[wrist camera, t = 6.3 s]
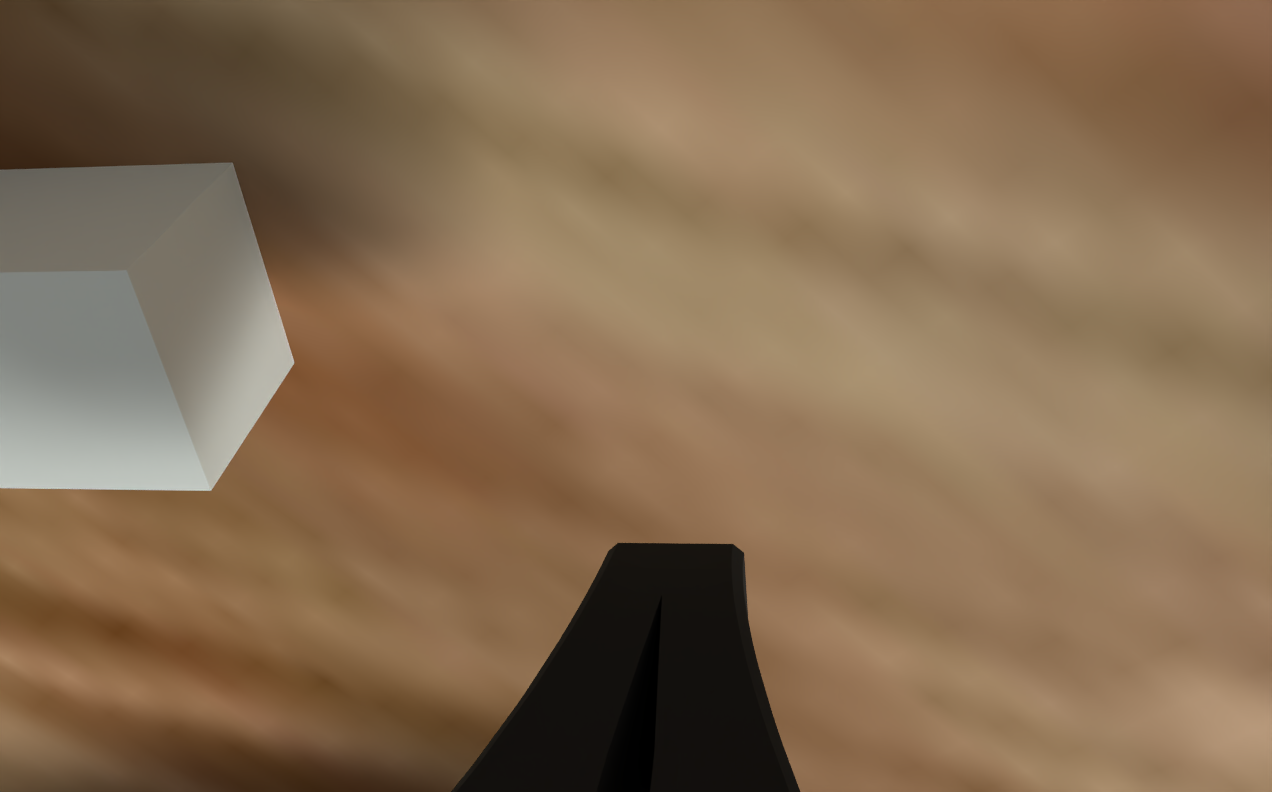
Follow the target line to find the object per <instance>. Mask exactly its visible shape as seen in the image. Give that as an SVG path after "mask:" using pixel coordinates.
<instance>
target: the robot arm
mask: <svg viewBox="0 0 1272 792" xmlns="http://www.w3.org/2000/svg"><path fill="white" fill-rule="evenodd" d="M451 792H800V789H799V787H798V784H797V782H796V779H795V776H794V774H793V771H792V768H791V766H790V763H789V760H788V758H787V755H786V752H785V749H784V747H783V744H782V741H781V738H780V735H779V732H778V729H777V726H776V723H775V720H774V717H773V714H772V711H771V708H770V704H769V701H768V697H767V694H766V690H765V687H764V684H763V680H762V677H761V673H760V670H759V667H758V663H757V659H756V655H755V651H754V646H753V642H752V637H751V632H750V627H749V622H748V610H747V594H746V578H745V562H744V553H743V552H742V551H741V550H740V549H738V548H737V547H736V546H735V545H733V544H668V543H617V544H616V545H615V546H614V547H613V548H612V549H610V550H609V551H608V553H607V555H606V557H605V559H604V561H603V564H602V566H601V568H600V570H599V571H598V573H597V575H596V577H595V579H594V581H593V583H592V585H591V587H590V588H589V590H588V592H587V594H586V596H585V598H584V599H583V601H582V603H581V605H580V606H579V608H578V610H577V612H576V613H575V615H574V617H573V618H572V620H571V622H570V623H569V625H568V627H567V628H566V630H565V632H564V633H563V635H562V637H561V638H560V640H559V642H558V643H557V645H556V646H555V648H554V649H553V651H552V652H551V654H550V656H549V657H548V659H547V660H546V662H545V663H544V665H543V666H542V668H541V669H540V671H539V672H538V674H537V676H536V677H535V679H534V680H533V682H532V683H531V685H530V686H529V688H528V689H527V691H526V692H525V694H524V695H523V697H522V698H521V700H520V701H519V703H518V704H517V705H516V707H515V708H514V710H513V711H512V712H511V714H510V715H509V716H508V718H507V719H506V721H505V722H504V723H503V725H502V726H501V727H500V729H499V730H498V731H497V733H496V734H495V735H494V737H493V738H492V740H491V741H490V742H489V744H488V745H487V746H486V748H485V749H484V750H483V752H482V753H481V755H480V756H479V757H478V759H477V760H476V761H475V763H474V764H473V765H472V766H471V768H470V769H469V770H468V772H467V773H466V774H465V775H464V776H463V778H462V779H461V780H460V781H459V783H458V784H457V785H456V786H455V788H454V789H453V790H452V791H451Z"/></svg>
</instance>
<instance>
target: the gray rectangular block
mask: <svg viewBox="0 0 1272 792" xmlns="http://www.w3.org/2000/svg"><path fill="white" fill-rule="evenodd" d="M293 364H294V360H293V357H292V353H291V350H290V347H289V344H288V340H287V337H286V334H285V331H284V328H283V324H282V321H281V318H280V315H279V311H278V308H277V305H276V302H275V298H274V295H273V292H272V289H271V285H270V282H269V279H268V276H267V272H266V269H265V266H264V263H263V259H262V256H261V253H260V250H259V246H258V243H257V240H256V237H255V233H254V230H253V227H252V224H251V220H250V217H249V214H248V211H247V207H246V204H245V201H244V198H243V194H242V191H241V188H240V185H239V181H238V178H237V175H236V172H235V168H234V165H233V162H231V163H199V164H168V165H136V166H104V167H73V168H41V169H9V170H0V488H37V489H115V490H194V491H211V490H212V488H213V487H214V485H215V484H216V482H217V481H218V479H219V478H220V476H221V475H222V473H223V472H224V470H225V469H226V467H227V465H228V464H229V462H230V461H231V459H232V458H233V456H234V455H235V453H236V452H237V450H238V449H239V447H240V446H241V444H242V443H243V441H244V439H245V438H246V436H247V435H248V433H249V432H250V430H251V429H252V427H253V426H254V424H255V423H256V421H257V420H258V418H259V416H260V415H261V413H262V412H263V410H264V409H265V407H266V406H267V404H268V403H269V401H270V400H271V398H272V397H273V395H274V393H275V392H276V390H277V389H278V387H279V386H280V384H281V383H282V381H283V380H284V378H285V377H286V375H287V374H288V372H289V371H290V369H291V367H292V366H293Z"/></svg>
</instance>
